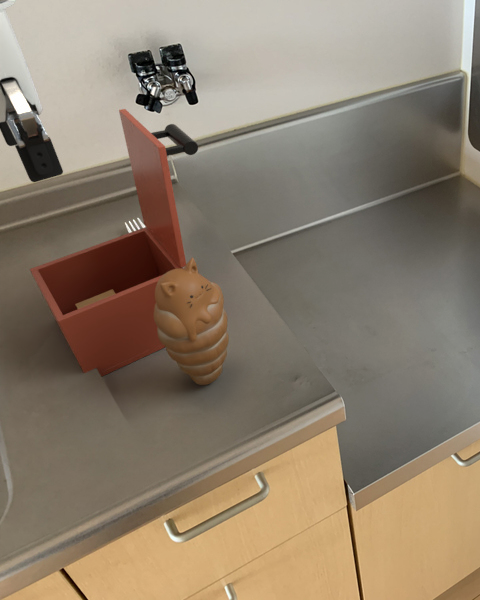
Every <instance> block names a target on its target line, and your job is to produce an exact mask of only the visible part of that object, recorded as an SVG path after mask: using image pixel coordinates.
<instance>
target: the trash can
mask: <svg viewBox="0 0 480 600" xmlns="http://www.w3.org/2000/svg"><path fill="white" fill-rule="evenodd" d="M179 268H181V267H180V266H179V265H178V264H177V262H176V261H175V260H174V259H173V258H172V257H171V255H170V254H169V253H168V252H167V251H166V249H165V248H164V247H163V246H162V245H161V244H160V242H159V241H158V240H157V239H156V238H155V236H154V235H153V234H152V233H151V232H150V230H149V229H148V228H147V227H146V226H145V228H142V227H141V228H140V229H139V230H138V229H136V231H133V230H132V232H131V233H129V232H127V233H126V234H122V235H120V236H117V237H114V238H112V239H108V240H105V241H103V242H100V243H98V244H95V245H93V246H90V247H87V248H83V249H81V250H78V251H76V252H73V253H70V254H67V255H65V256H62V257H59V258H56V259H54V260H50V261H48V262H45V263H42V264H40V265H37V266H34V267H32V268H29V271H30V273H31V275H32V277H33V279H34V281H35V283H36V285H37V287H38V289H39V291H40V293H41V294H42V296H43V299H44V301H45V303H46V304H47V306H48V308H49V311H50V312H51V314H52V316H53V318H54V321H55V322H56V324H57V326H58V328H59V329H60V331H61V333H62V335H63V337H64V339H65V340H66V342H67V344H68V346H69V348H70V350H71V352H72V353H73V354H72V355H74V357H75V359H76V361H77V363H78V364H79V366H80V368H81V370H82V373H83V374H86V373H89V372H90V371H93V370H95V369H96V370H97V372H98V373H99V376H100V377H104V376H106V375H108V374H111V373H113V372H115V371H118V370H119V369H122V368H124V367H126V366H127V365H130V364H132V363H134V362H136V361H138V360H141V359H143V358H145V357H148V356H150V355H151V354H153V353H156V352H158V351H160V350H162V349H164V348H165V349H166V347H165V346H164V345H163V344H162V343H161V342H160V340H159V338H158V334H157V325H156V323H155V321H154V306H155V303H156V300H155V288H156V285H157V282H158V280H159V279H160V278H161V277H162V276H163V275H164V274H165V273H167V272H168V271H171V270H173V269H179ZM182 268H184V267H182ZM112 289H113V290H114V292H115V293H116V294H114V295H112V296H109V297H107V298H104V299H102V300H99V301H97V302H95V303H92V304H90V305H87V306H85V307H82V308H80V309H77V308H76V305H75V304H77V303H79V302H82V301H84V300H87V299H89V298H92V297H94V296H97V295H99V294H102V293H104V292H107V291H109V290H112Z"/></svg>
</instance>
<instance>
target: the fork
mask: <svg viewBox="0 0 480 600" xmlns="http://www.w3.org/2000/svg"><path fill="white" fill-rule="evenodd" d="M132 221H133V223H132V222H131V221H130V220H128V223H129V225H128V223H127V222H124V225H125V227H126V230H127V233H131V232H133V231H136V230H139V229H142V228H145V227H146V226H145V225H144V222H143V221H142V220H141V219H140V218H139V217H137V221H138V223H139V225H140V226H141V228H140V226H139V225H138V223H137V222H136V220H135V219H132ZM133 224H134V225H135V226H134V225H133ZM130 227H131V228H130ZM135 227H136V228H135ZM131 229H132V230H131Z"/></svg>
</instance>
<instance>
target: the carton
mask: <svg viewBox="0 0 480 600" xmlns="http://www.w3.org/2000/svg"><path fill="white" fill-rule="evenodd" d="M114 294H116V293H115V292H114V290H113V289H112V290H109V291H107V292H104V293H102V294H99V295H97V296H94V297H92V298H89V299H87V300H84V301H82V302H79V303H77V304H75V305H76V308H77V309H80V308H82V307H85V306H87V305H90V304H92V303H95V302H97V301H99V300H102V299H104V298H107V297H109V296H112V295H114Z"/></svg>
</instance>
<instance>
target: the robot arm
mask: <svg viewBox="0 0 480 600" xmlns="http://www.w3.org/2000/svg"><path fill="white" fill-rule="evenodd" d="M16 1H17V0H0V132H1V135H2V137H3V139H4V141H5V143H6V145H7V146H9V147H15V149H16V151H17V154H18V156H19V159H20V161H21V163H22V166H23V168H24V171H26V176H27V177H28V179H29V180H30V181H31V182H32V183H36V182H41V181H44V180H47V179H51V178H54V177H58V176H62V174H63V173H64V169H63V167H62V165H61V161H60V160H59V156H58V155H57V152H56V150H55V146H54V144H53V142H52V139H51V137H50V136H49V135H48V133H47V131H46V129H45V127H44V125H43V123H42V121H41V119H40V115H41V114H42V112H43V106H42V103H41V99H40V97H39V94H38V91H37V89H36V85H35V82H34V80H33V76H32V73H31V71H30V69H29V66H28V63H27V61H26V58H25V55H24V53H23V50H22V48H21V45H20V43H19V40H18V38H17V35H16V33H15V30H14V28H13V26H12V25H13V24H12V22H11V20H10V17H9V15H8V13H7V11H6V9H8V8H10V7H12V6H14V4H16Z"/></svg>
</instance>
